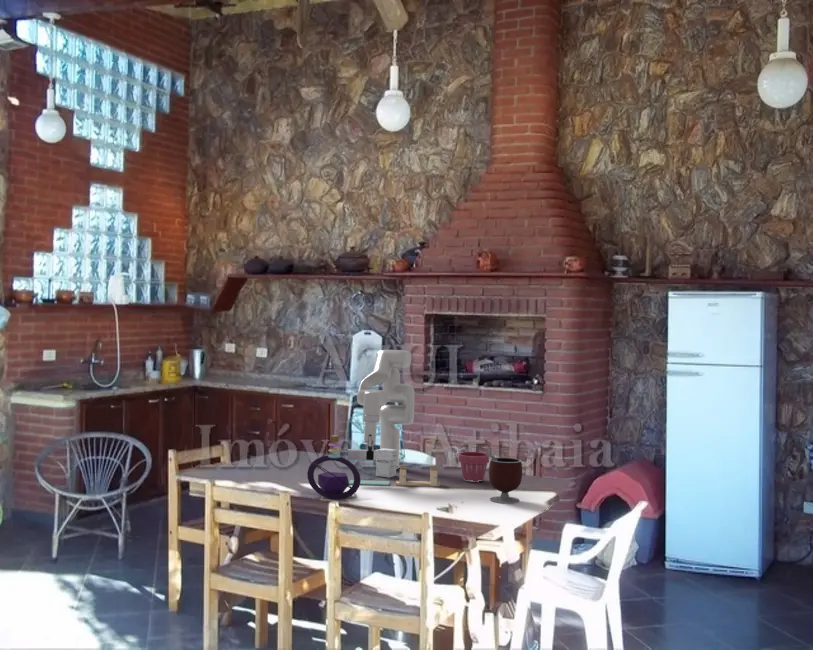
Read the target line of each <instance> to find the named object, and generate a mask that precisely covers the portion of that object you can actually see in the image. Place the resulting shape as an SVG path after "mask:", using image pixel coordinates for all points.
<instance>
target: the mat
mask: <svg viewBox="0 0 813 650" xmlns="http://www.w3.org/2000/svg"><path fill="white" fill-rule="evenodd" d="M348 482H349V486H351V485H353V483H354V479H350V480H349V481H348ZM390 483H391V482H390V480H365V479H364V480H363V479H360V486H385V487H386V486H388V487H389V486H390Z"/></svg>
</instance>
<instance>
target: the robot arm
mask: <svg viewBox="0 0 813 650" xmlns="http://www.w3.org/2000/svg"><path fill="white" fill-rule="evenodd" d="M375 357H376V358H375V361H374V365H373V369H372V372H371V373H369V374H368V375H366V377H364V378H363V379H362V380H361V381H360V383H359V386H358V391H357V394H356V401H357V403H358V404H359V405H360V406H363V408H362V414H363V415H362V422H363V423H364V435H363V436H364V437H363V444H364V445H366V450H367V453H366V461H374V460H373V458H374V451H373V450H375V449H374V448H375V444H376V440H377V431H378V430H377V426H378V425H377V424H378V423H380V425H379V427H380V435H379V436H380V438H379V439H380V440H379V443H380V445H379V449H383V448H385V449H394V450H397V457H396V470H400V469H399V468H400V465H401V464H400V463H399V462H400V458H399V457H400V430H399V429H398V428H397V426H396V425H404V426H405V425H406V426H407V425H408V426H409V425H412V424H413V423H414V420H415V388H414V386H413V385H412V384H409V383H401V373H400V371H399V370H398V369H407V368H409V367H410V366H411V364H412V354H411V352H410V351H409V350H403V349H381V350H378V351H377V352H376V356H375ZM380 385H382V389H370V388H373V387H377V386H380ZM387 403H397V404H387ZM399 403H400V404H401V405H400V404H399ZM402 404H404V405H402Z"/></svg>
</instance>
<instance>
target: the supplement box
mask: <svg viewBox="0 0 813 650" xmlns="http://www.w3.org/2000/svg"><path fill="white" fill-rule="evenodd" d="M377 450H392V460H375V461H376V465H375V477H382V478H388V479H389V478H390V479H391V478H393V477H395V476H397V474H396V473H397V469H396V457H397V450H394V449H385V448H383V449H380V448H379V449H377Z"/></svg>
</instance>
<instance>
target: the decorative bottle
mask: <svg viewBox="0 0 813 650" xmlns="http://www.w3.org/2000/svg"><path fill="white" fill-rule="evenodd" d="M339 439H340V435H337V434H335V435H334V434H333V435H330V442H329V443H328V444H327V445H328V446H329V447H331V448H329V449H328V450H327V452H329V453H330V454H329V455H324V456H322V455H321V456H320V457H318V458H315V459H314V460H313V461H312V462H311V463H310V465H309V466H308V469H307V480H308V484H309V485H310V486H311V488H312V490H314V491H315V493H317V494H318V495H320V496H322V497H324V498H327V499H330V500H343V499H347V498H350V497H352V496H353V495H354V494H355V493H357V491H358V490H359V488H360V486H361V485H360V480H361V474H360V472H359V469H357V467H356V466H355V464H354V463H352V462H351V461H350V460H349V459H347V458H344V457H342V456H341V455H340V454H338V453H341V452H342V451H341V449H340V448H336V447H341V446H342V444H341V443H340V441H339ZM333 447H334V448H333ZM329 461H333V462H334V461H336V462H339V463H341V464H343V465H345V466H346V467H347V468H349V469H350V470H349V471H351V473H352V474H353V480H354V483H353V485H352V486H351V485H349V482H350V481H349V478H348V475H347V472H342V471H343V470H342V471H341V472H334V471H328V470H327V469H325V468H324V467H322V466H321V465H320V464H321V463H324V462H329ZM317 468H318V469H320V471H322V473H319V474H318V475H317V477H318V478H317V483H316V480H315V475H314V474H315V470H316V469H317ZM335 470H336V469H335ZM347 488H349V489H347Z"/></svg>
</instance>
